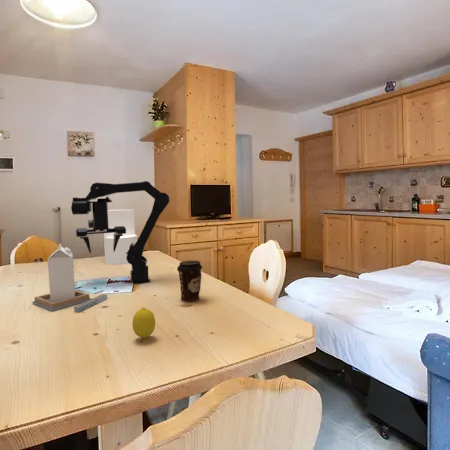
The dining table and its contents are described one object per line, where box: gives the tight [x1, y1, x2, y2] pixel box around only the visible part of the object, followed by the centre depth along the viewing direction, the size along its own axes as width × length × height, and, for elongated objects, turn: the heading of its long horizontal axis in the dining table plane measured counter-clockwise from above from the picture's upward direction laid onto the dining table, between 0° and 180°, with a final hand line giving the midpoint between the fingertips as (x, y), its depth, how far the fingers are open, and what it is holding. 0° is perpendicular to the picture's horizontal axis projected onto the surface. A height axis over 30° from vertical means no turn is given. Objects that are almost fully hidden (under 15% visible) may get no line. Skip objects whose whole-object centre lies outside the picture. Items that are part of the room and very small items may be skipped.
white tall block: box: [103, 208, 138, 266], centre depth 184 cm, size 17×17×28 cm
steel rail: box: [73, 293, 108, 313], centre depth 112 cm, size 14×2×2 cm, turn 164°
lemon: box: [132, 307, 156, 340], centre depth 84 cm, size 6×6×8 cm
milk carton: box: [47, 243, 76, 302], centre depth 115 cm, size 7×7×19 cm
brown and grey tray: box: [31, 289, 93, 313], centre depth 115 cm, size 14×14×2 cm
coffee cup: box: [176, 260, 203, 303], centre depth 115 cm, size 9×8×13 cm
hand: (102, 252), depth 138 cm, fingers open, 9 cm apart
